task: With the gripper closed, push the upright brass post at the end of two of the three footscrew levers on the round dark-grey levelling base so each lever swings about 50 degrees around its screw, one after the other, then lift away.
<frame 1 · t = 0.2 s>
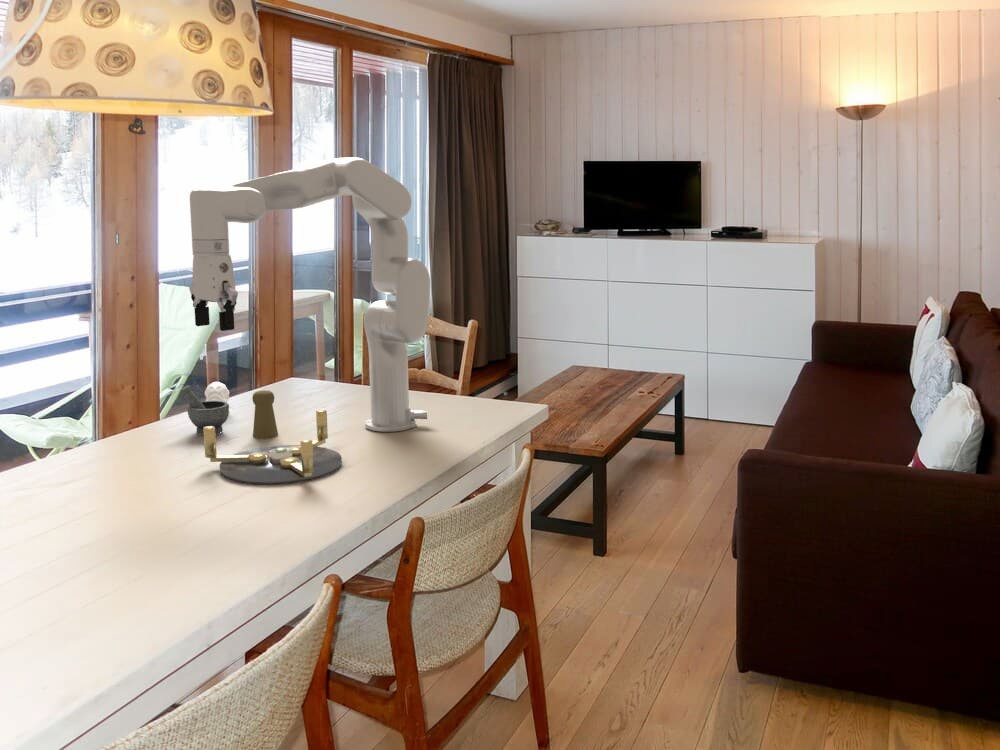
hand: (214, 327, 219), 30 cm above the table, tool pointing down, fingers open, 9 cm apart
gold l-shaped piece 1: (235, 444, 221), point 5 cm above the table, hinge at 0.0°
white carved sculpture: (216, 417, 267), on the table
mortar and pestle: (206, 433, 251), on the table
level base: (281, 466, 222), on the table
olive tapered upright piece: (265, 436, 248), on the table
brass crank handle 2: (297, 453, 213), point 5 cm above the table, hinge at 0.0°
brass bent bar 3: (307, 432, 230), point 5 cm above the table, hinge at 0.0°
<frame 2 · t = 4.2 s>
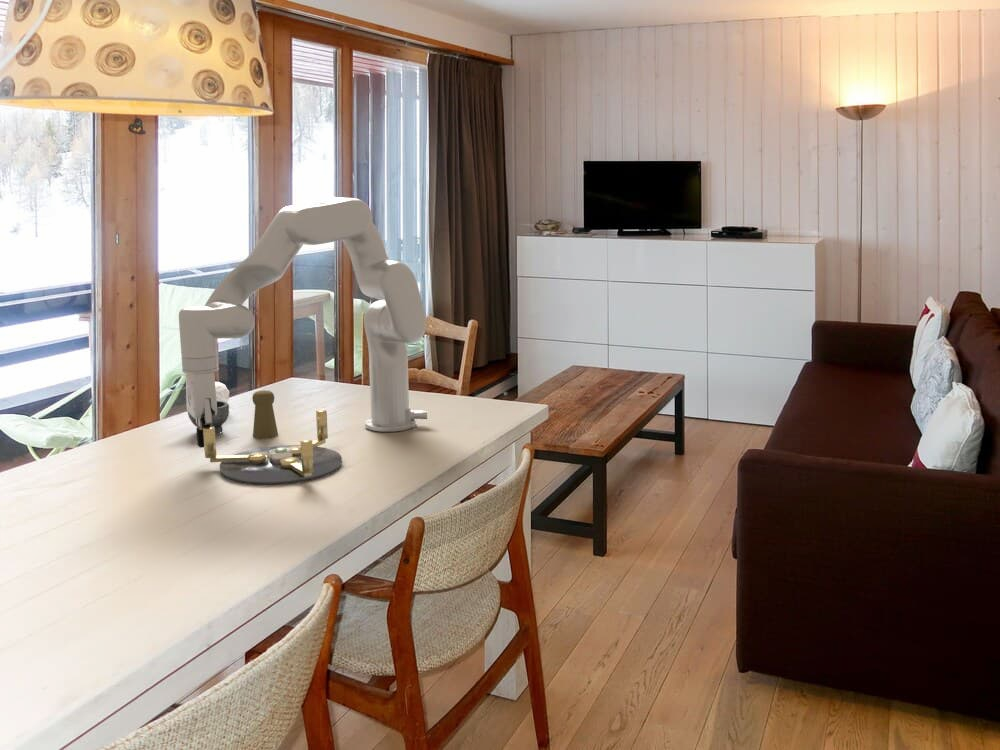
hand: (205, 445, 224), 4 cm above the table, tool pointing down, fingers closed
gold l-shaped piece 1: (235, 444, 221), point 5 cm above the table, hinge at 1.3°, touching gripper
everything else where it was.
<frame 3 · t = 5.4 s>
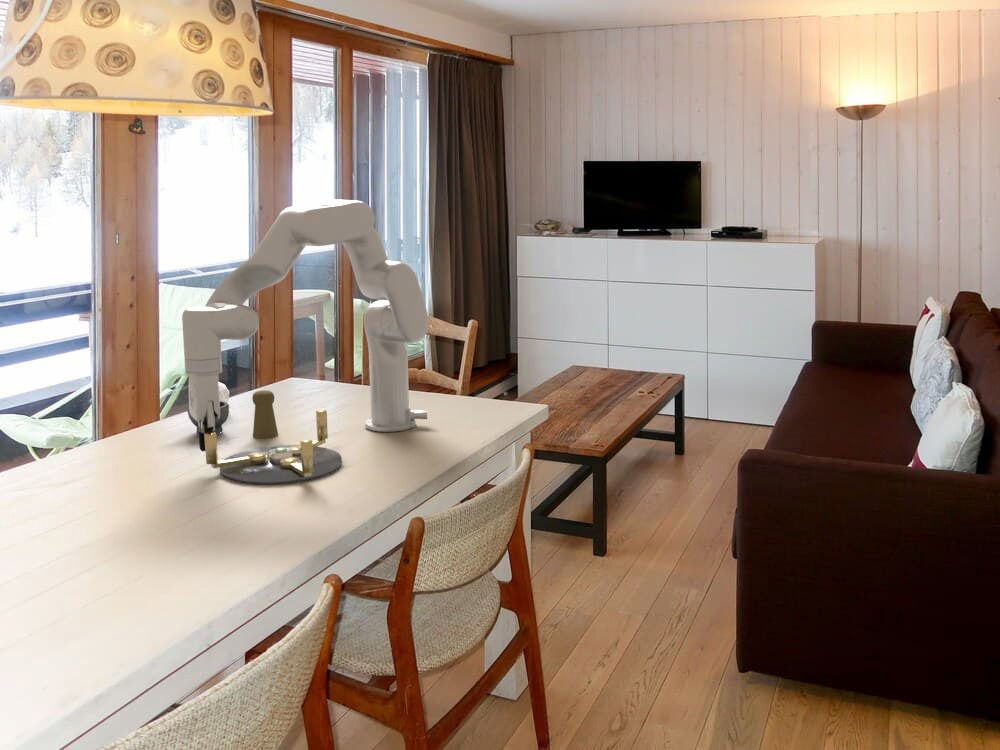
hand: (208, 449, 219), 5 cm above the table, tool pointing down, fingers closed
gold l-shaped piece 1: (236, 446, 219), point 5 cm above the table, hinge at 30.2°, touching gripper
everything else where it was.
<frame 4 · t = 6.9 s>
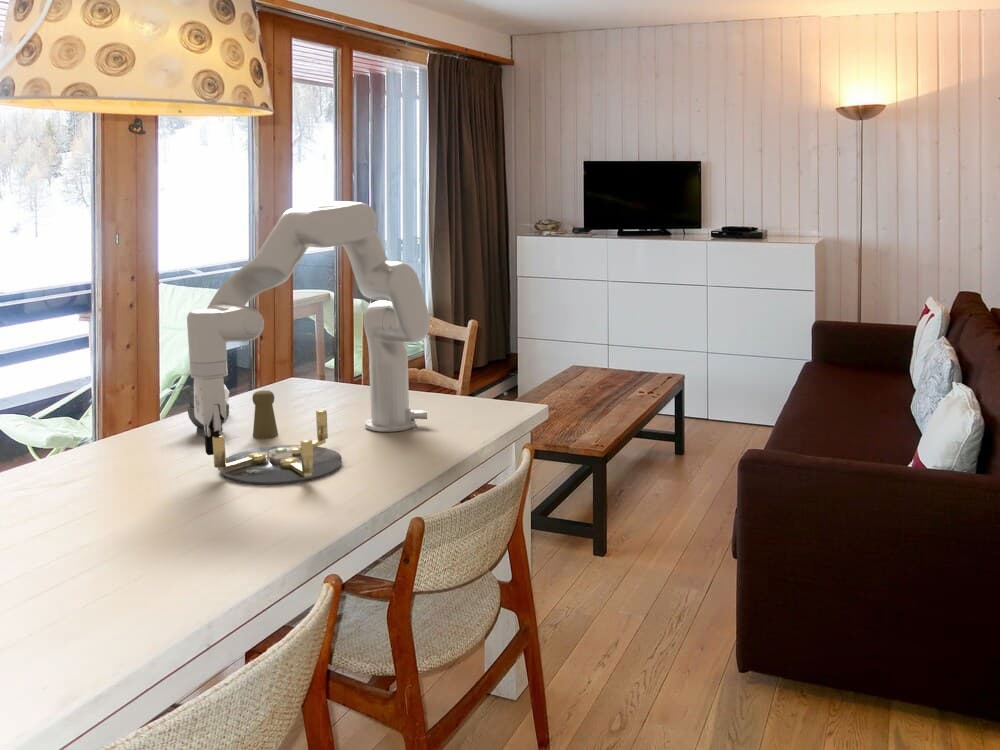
hand: (214, 453, 217), 5 cm above the table, tool pointing down, fingers closed
gold l-shaped piece 1: (240, 448, 217), point 5 cm above the table, hinge at 50.3°, touching gripper
everything else where it was.
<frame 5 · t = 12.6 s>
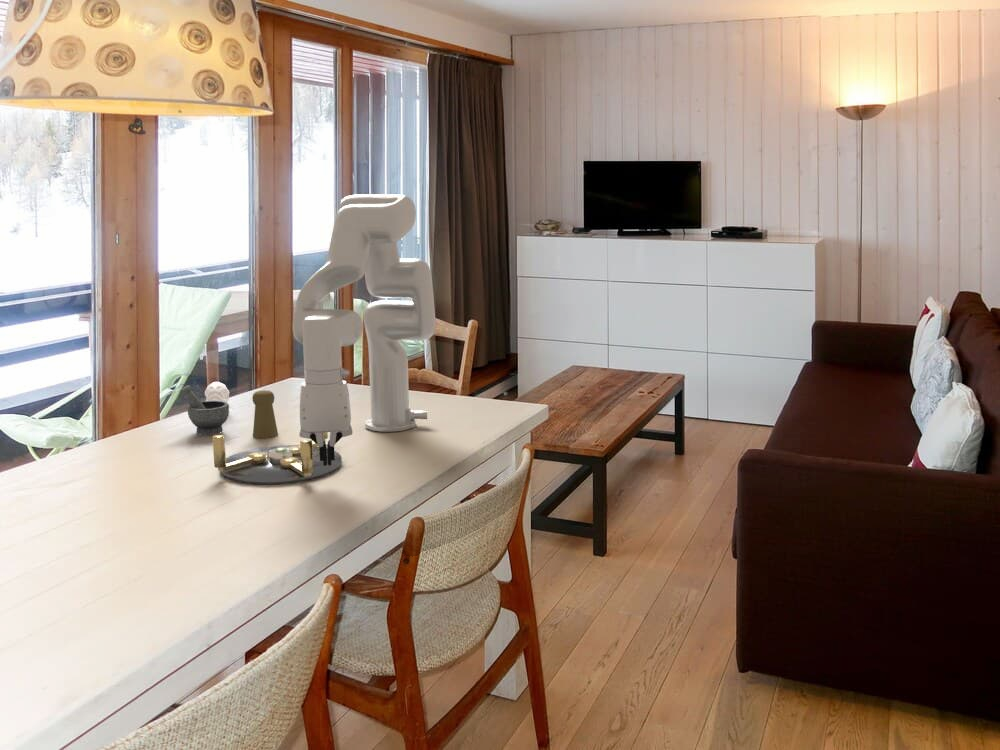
hand: (327, 463, 210), 4 cm above the table, tool pointing down, fingers closed
gold l-shaped piece 1: (240, 448, 217), point 5 cm above the table, hinge at 50.4°
brass crank handle 2: (297, 453, 213), point 5 cm above the table, hinge at -0.3°, touching gripper
everything else where it was.
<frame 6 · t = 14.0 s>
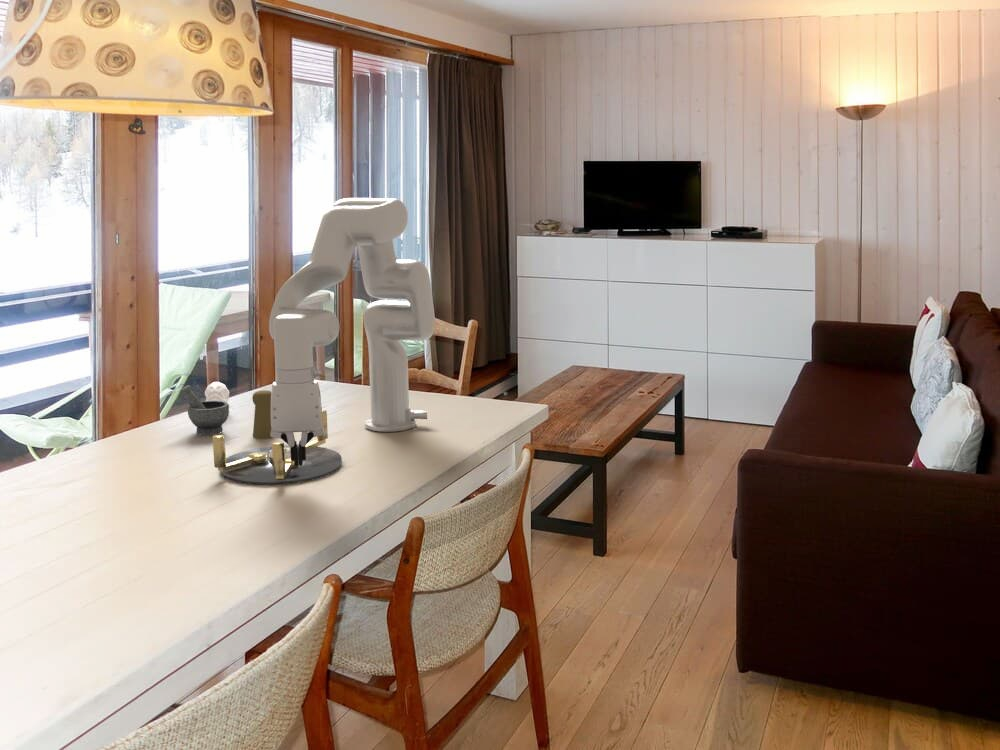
hand: (298, 464, 208), 5 cm above the table, tool pointing down, fingers closed
brass crank handle 2: (284, 454, 213), point 5 cm above the table, hinge at -33.2°, touching gripper
everything else where it was.
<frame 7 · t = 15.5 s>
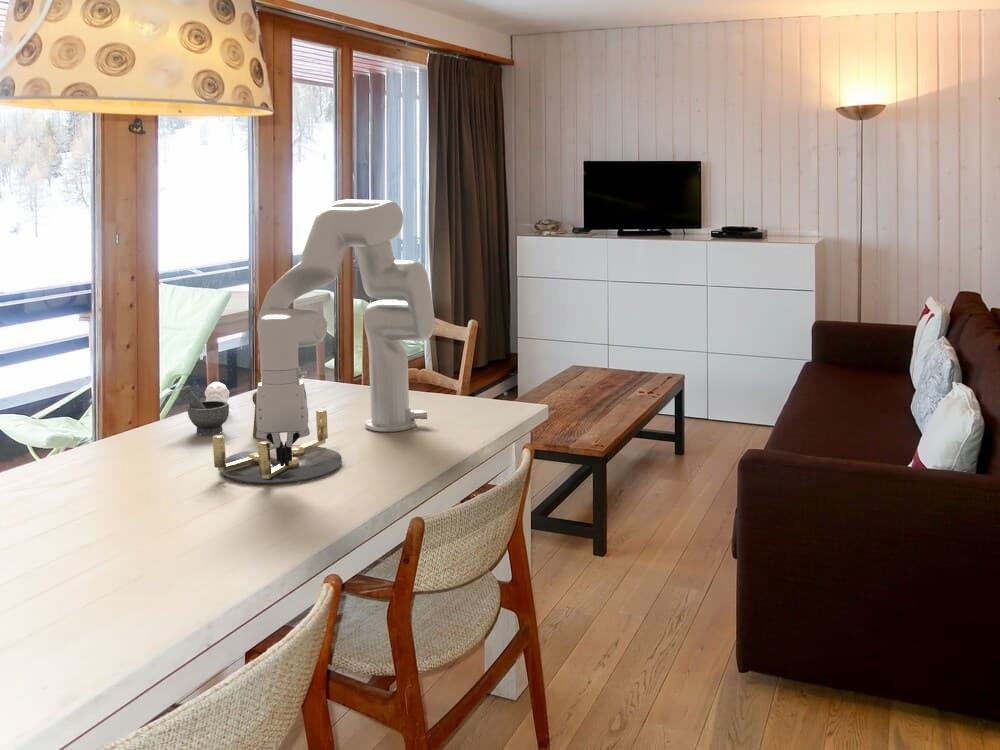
hand: (284, 464, 208), 4 cm above the table, tool pointing down, fingers closed
brass crank handle 2: (278, 454, 213), point 5 cm above the table, hinge at -50.5°, touching gripper
everything else where it was.
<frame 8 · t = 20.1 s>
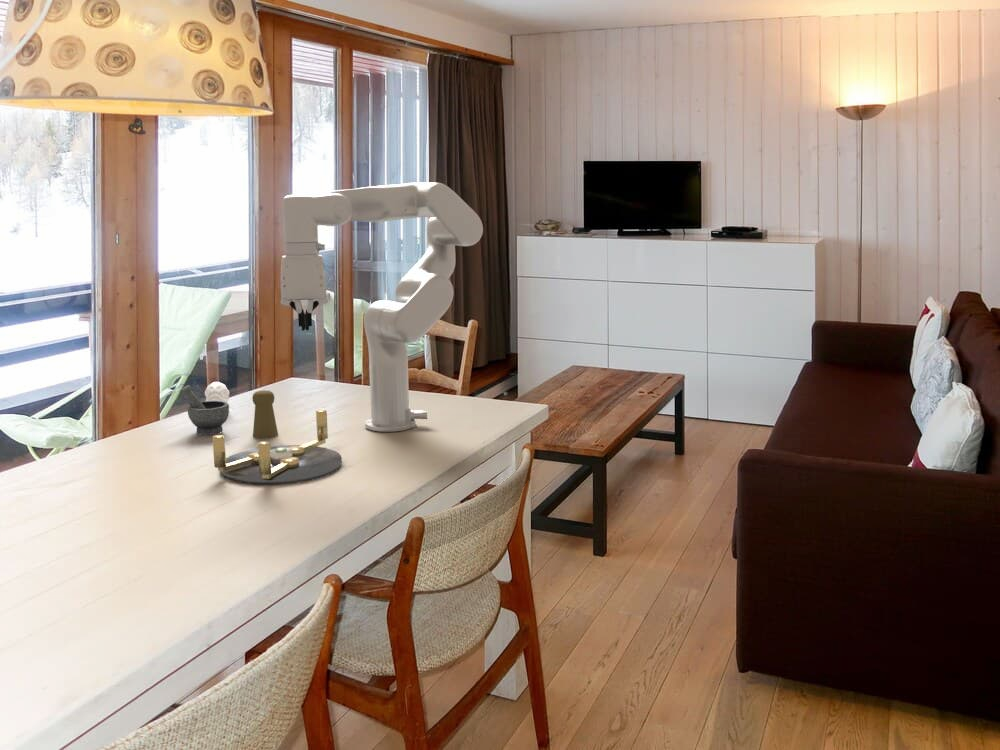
hand: (305, 329, 236), 27 cm above the table, tool pointing down, fingers closed
brass crank handle 2: (278, 454, 213), point 5 cm above the table, hinge at -50.6°
everything else where it was.
at the end: gold l-shaped piece 1 at +50° (first picture: +0°); brass crank handle 2 at -51° (first picture: +0°); brass bent bar 3 at +0° (first picture: +0°) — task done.
